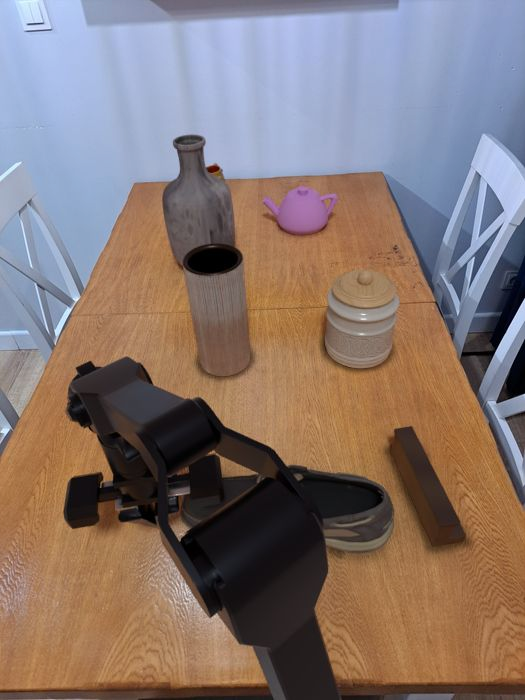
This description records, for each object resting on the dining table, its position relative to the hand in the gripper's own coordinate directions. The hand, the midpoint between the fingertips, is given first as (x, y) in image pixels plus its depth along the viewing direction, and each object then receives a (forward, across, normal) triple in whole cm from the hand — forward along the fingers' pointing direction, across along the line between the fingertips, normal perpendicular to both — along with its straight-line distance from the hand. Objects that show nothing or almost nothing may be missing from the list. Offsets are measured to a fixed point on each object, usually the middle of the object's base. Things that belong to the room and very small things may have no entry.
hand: (159, 523), depth 65 cm
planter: (+4, -12, -35) cm, 37 cm away
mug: (+4, -19, -117) cm, 119 cm away
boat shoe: (+4, -17, 0) cm, 18 cm away
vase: (+4, -12, -71) cm, 72 cm away
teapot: (+4, -38, -85) cm, 93 cm away
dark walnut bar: (+4, -38, 0) cm, 38 cm away
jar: (+4, -38, -33) cm, 51 cm away
